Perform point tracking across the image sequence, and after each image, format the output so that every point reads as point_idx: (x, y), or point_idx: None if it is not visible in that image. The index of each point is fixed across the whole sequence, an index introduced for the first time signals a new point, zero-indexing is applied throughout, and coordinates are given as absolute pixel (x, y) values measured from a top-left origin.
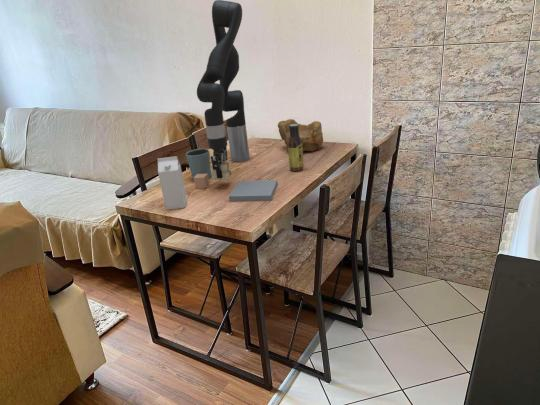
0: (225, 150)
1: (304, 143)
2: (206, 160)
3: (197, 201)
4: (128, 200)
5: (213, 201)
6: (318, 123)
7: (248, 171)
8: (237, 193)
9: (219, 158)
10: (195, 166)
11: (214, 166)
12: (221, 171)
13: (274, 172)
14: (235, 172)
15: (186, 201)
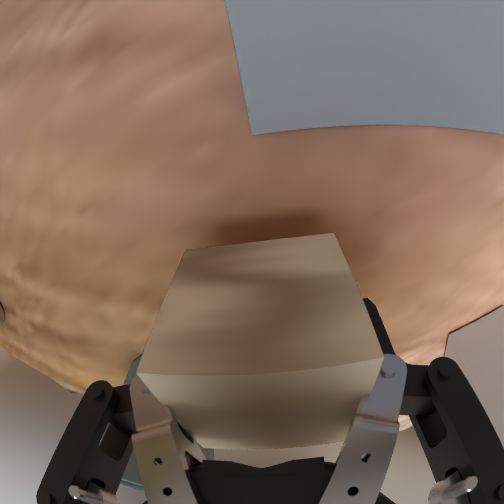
0: (80, 496)
1: None
2: None
3: (470, 293)
4: None
5: (493, 220)
6: None
7: (19, 201)
8: (500, 86)
9: (383, 496)
10: (210, 448)
11: (430, 418)
12: None
13: (6, 42)
14: (54, 266)
15: (464, 328)
